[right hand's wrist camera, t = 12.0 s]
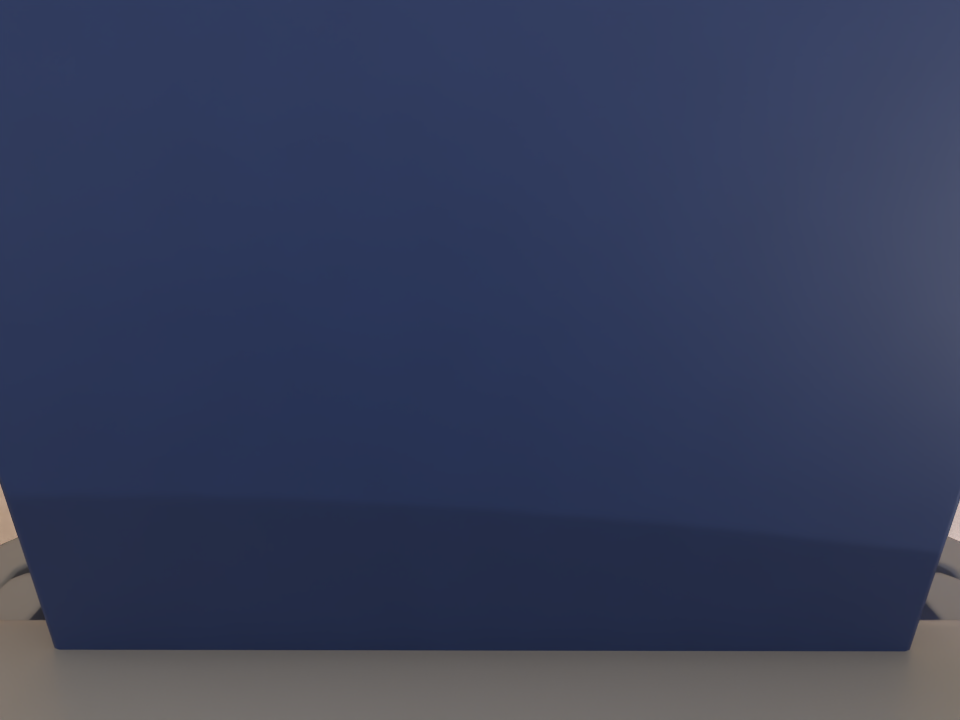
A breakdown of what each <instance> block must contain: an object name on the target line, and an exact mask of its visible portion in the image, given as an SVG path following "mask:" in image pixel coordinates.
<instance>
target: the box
mask: <svg viewBox="0 0 960 720" xmlns="http://www.w3.org/2000/svg"><path fill="white" fill-rule="evenodd" d="M0 484H1V487H2V490H3V493H4V496H5V499H6V502H7V505H8V508H9V511H10V514H11V517H12V520H13V523H14V526H15V529H16V532H17V535H18V538H19V541H20V544H21V548H22V551H23V554H24V557H25V560H26V563H27V566H28V569H29V572H30V575H31V578H32V581H33V584H34V587H35V590H36V593H37V596H38V599H39V602H40V605H41V608H42V611H43V614H44V617H45V620H46V623H47V626H48V629H49V632H50V635H51V638H52V642H53V645H54V648H56V649H59V650H441V651H908V650H910V647H911V644H912V641H913V638H914V635H915V632H916V629H917V626H918V623H919V620H920V617H921V614H922V611H923V608H924V605H925V602H926V599H927V596H928V593H929V590H930V587H931V584H932V581H933V578H934V575H935V572H936V569H937V566H938V563H939V560H940V557H941V554H942V551H943V548H944V545H945V542H946V539H947V536H948V533H949V530H950V527H951V524H952V521H953V518H954V515H955V512H956V509H957V506H958V503H959V500H960V0H0Z"/></svg>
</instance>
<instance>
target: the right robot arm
mask: <svg viewBox="0 0 960 720" xmlns="http://www.w3.org/2000/svg"><path fill="white" fill-rule="evenodd" d="M0 720H960V542H959V541H957V540H955V539H952V538H950V537H948V536H947V539H946V542H945V545H944V548H943V551H942V554H941V557H940V560H939V563H938V566H937V569H936V572H935V575H934V578H933V581H932V584H931V587H930V590H929V593H928V596H927V599H926V602H925V605H924V608H923V611H922V614H921V617H920V620H919V623H918V626H917V629H916V632H915V635H914V638H913V641H912V644H911V647H910V650H908V651H441V650H59V649H56V648H54V645H53V642H52V638H51V635H50V632H49V629H48V626H47V623H46V620H45V617H44V614H43V611H42V608H41V605H40V602H39V599H38V596H37V593H36V590H35V587H34V584H33V581H32V578H31V575H30V572H29V569H28V566H27V563H26V560H25V557H24V554H23V551H22V548H21V544H20V541H19V538H15V539H13V540H11V541H9V542H6V543H4V544H2V545H0Z"/></svg>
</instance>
